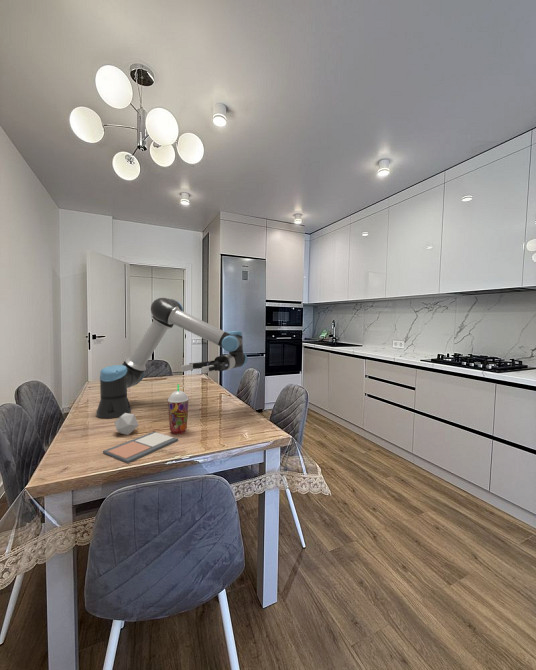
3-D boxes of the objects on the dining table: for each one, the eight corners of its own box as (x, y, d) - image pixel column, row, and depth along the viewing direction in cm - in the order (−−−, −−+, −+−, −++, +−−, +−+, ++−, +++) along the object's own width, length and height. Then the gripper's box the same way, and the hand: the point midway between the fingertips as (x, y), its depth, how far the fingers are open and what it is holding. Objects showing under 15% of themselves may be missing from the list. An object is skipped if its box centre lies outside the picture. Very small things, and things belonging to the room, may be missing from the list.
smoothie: (177, 437, 114) (177, 387, 113) (163, 432, 118) (163, 384, 117) (192, 430, 121) (192, 383, 120) (179, 426, 125) (179, 381, 124)
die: (142, 432, 119) (139, 411, 124) (132, 429, 112) (129, 406, 116) (123, 440, 119) (121, 418, 123) (112, 437, 111) (109, 414, 115)
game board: (103, 453, 99) (102, 450, 99) (154, 433, 117) (154, 430, 117) (128, 463, 92) (127, 460, 92) (178, 440, 110) (178, 438, 110)
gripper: (244, 371, 137) (212, 379, 119) (206, 369, 151) (173, 376, 133) (243, 355, 137) (211, 362, 119) (206, 355, 150) (172, 360, 133)
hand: (191, 369), depth 126 cm, fingers open, 13 cm apart
